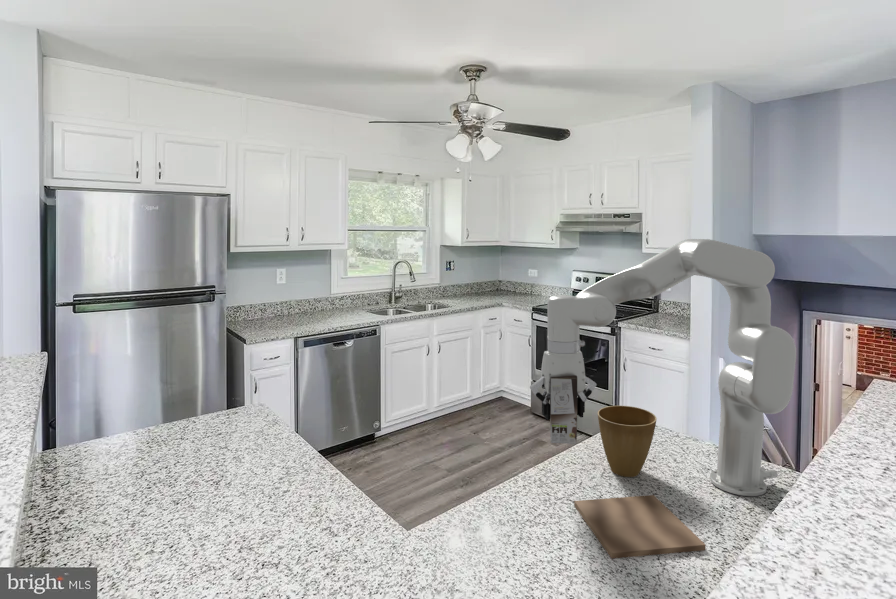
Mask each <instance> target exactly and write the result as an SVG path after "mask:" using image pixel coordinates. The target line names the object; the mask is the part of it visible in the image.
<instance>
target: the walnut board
mask: <svg viewBox="0 0 896 599" xmlns="http://www.w3.org/2000/svg"><path fill="white" fill-rule="evenodd" d="M573 506H574V508H575V509H576V510H577V512H578V513H579V514H580V516H581V518H582V519H583V520H584V522H585V524H586V525H587V526H588V527H589V529H590V531H591V532H592V533H593V534H594V536H595V537H596V539H597V540H598V542H599V543H600V544H601V546H602V547H603V549H604V550H605V552H606V553H607V554H608V556H609V557H610V559H612V560H613V559H624V558H634V557H635V558H636V557H645V556H646V557H647V556H654V555H655V556H657V555H666V554H667V555H668V554H669V555H670V554H679V553H688V552H689V553H690V552H699V551H700V552H701V551H702V552H703V551H706V547H707V546H706V543H705V542H704V541H702V540H701V539H700V538H699V537H698V536H697V534H695V533H694V532H693V531H692V530H691V529H690V528H689V527H688V526H687V525H686V524H685V523H684V522H682V520H680V518H678V517H677V516H676V515H675V514H674V513H673V511H671V510H670V509H669V508H668V507H667V506H666V505H665V504H664V503H663V502H662V501H660V499H658V497H657V496H655V494H650V495H649V494H648V495H634V496H621V497H608V498H595V499H583V500H582V499H581V500H574V502H573Z"/></svg>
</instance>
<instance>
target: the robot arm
mask: <svg viewBox="0 0 896 599" xmlns="http://www.w3.org/2000/svg"><path fill="white" fill-rule="evenodd" d="M775 272H776V267H775V263H774V261H773V259H772V258H771V257H770V256H769V255H767V254H766V253H764V252H762V251H758V250H755V249H751V248H746V247H743V246H742V247H741V246H739V245H738V246H737V245H734V244H730V243H726V242H724V241H723V242H722V241H719V240H714V239H709V238H706V239H705V238H688V239H684V240H681V241H679V242H677V243H675V244H673V245H672V246H670V247H668V248H667V249H664V250H663V251H661V252H659V253H657V254H655V255H654V256H652V257H650V258H648V259H647V260H645V261H642V262H641V263H639V264H637V265H635V266H632V267H630V268H627V269H624V270H622V271H620V272H618V273H615V274H613V275H609V276H607V277H605V278H603V279H601V280H599V281H597V282H595V283H594V284H592V285H590V286H588V287H587V288H585V289H583V290H581V291H580V292H578V293H577V294H576V295H575V296H574V295H569V294H568V295H567V294H558V295H552V296H550V297H549V298H548V300H547V315H546V316H547V350H544V351H543V356H542V361H541V362H542V363H541V370H540V378H539V379H537V380H536V381H534V383H532V384H531V385H530V386H529V389H530V390H531V392H532V393H533V394H534V396H536V398H537V399H539V400H540V401H541V415H542V416H543V417H544V418H545V419H546V420H547V421H550V385H551V383H550V377H560V376H573V375H576V376H577V378H578V380H577V417H580V418H584V413H585V412H586V411H585V410H586V408H585V407H586V404H585V402H586V401H587V400H588V398H589V397H590V396H591V395H592V393H593V391H594V390H595V388H596V387H597V385H598V384H597V383H596V382H595V381H593V380H592V379H591V378H589V377H587V376H586V368H585V363H584V356H583V352H582V351H581V347H585V346H586V342H585V340H581V339H580V326H582V327H595V328H603V327H607V326H608V325H610V324H612V322H613V321H614V320H615V318H616V315H617V308H616V306H618V305H619V304H621V303H625V302H628V301H634V300H642V299H643V300H644V299H650V298H653V297H657V296H658V295H660V294H662V293H664V292H665V291H667V290H669V289H671V288H673V287H675V286H677V285H678V284H680V283H682V282H684V281H685V280H687V279H689V278H691V277H693V276H699V277H705V278H708V279H711V280H712V279H713V280H716V281H717V282H718V283H720V284H721V285H722V286H723V288H724V289H725V291H726V292H727V293H728V296H729V301H730V311H729V312H730V315H729V324H728V327H729V328H728V337H727V340H728V341H727V343H728V344H727V345H728V348H729V351H730V352H731V353H733V354H734V355H736V356H737V357H739V358H741V359H744V360H747V361H750V362H752V364H751V363H748V362H742V361H735V362H730V363H728V364H726V365H725V366H724V367H723V368H722V369H721V371H720V373H719V374H718V375H719V376H718V383H717V384H718V392H719V393H718V394H719V402H720V416H719V417H720V421H719V435H718V446H717V447H718V450H717V465H716V469H715V470H713V471H711V472H710V474H709V481H710V482H711V484H712V485H713V486H715V487H716V488H718V489H720V490H722V491H724V492H727V493H731V494H734V495H738V496H742V497H743V496H744V497H757V496H758V497H759V496H762V495H764V494H766V492H767V483H766V482H765V481H766V480H767V479H777V478H778V476H779V474H778V472H777V470H776V469H768V470H766V469H765V467H764V466H762V458H763V457H762V455H763V442H764V430H765V429H764V427H765V416H764V415H765V414H767V415H775V414H778V413H780V412H783V410H784V409H786V407H788V405H789V403H790V401H791V399H792V396H793V391H794V390H793V389H794V381H795V370H796V360H797V346H796V343H795V340H794V339H793V338H794V337H792V335H791V334H790V333H789V332H788V331H786V330H785V329H783V328H781V327H777V326H775V325H772V324H771V315H772V301H771V300H772V298H771V294H770V290H769V288H768V286H767V285H768V284H769V283H771V281H772V280H773V279H774V276H775V274H776V273H775ZM586 384H587V387H586ZM540 388H541V389H542V390H543V392H542V393H541V392H540V391H539V389H540ZM764 480H765V481H764Z"/></svg>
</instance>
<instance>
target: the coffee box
mask: <svg viewBox="0 0 896 599" xmlns="http://www.w3.org/2000/svg"><path fill="white" fill-rule="evenodd" d="M577 380H578V378H577V376H576V375H573V376H560V377H550V383H551V385H550V400H549V404H550V420H549V430H550V443H553V444H566V445H567V444H569V445H576V444H577V443H578V442H577V441H578V440H577V439H578V415H577V398H578V396H577Z"/></svg>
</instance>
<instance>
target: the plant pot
mask: <svg viewBox="0 0 896 599" xmlns="http://www.w3.org/2000/svg"><path fill="white" fill-rule="evenodd" d="M657 419H658V418H657V416H656V415H655V414H654V413H653V412H651V411H649V410H647V409H645V408H641V407H636V406H631V405H609V406H604V407H602V408H600V409H599V410H598V411H597V421H598V426H599V433H600V437H601V442H602V446H603V451H604V454H605V458H606V459H607V462H608V466H609V468H610V471H611V472H612V473H613V474H615V475H617V476H618V477H619V476H620V477H625V478H634V477H637V476H639V475H640V472H642V470H643V467H644V465H645V463H646V461H647V457H648V454H649V452H650V448H651V446H652V442H653V438H654V434H655V430H656V424H657Z"/></svg>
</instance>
